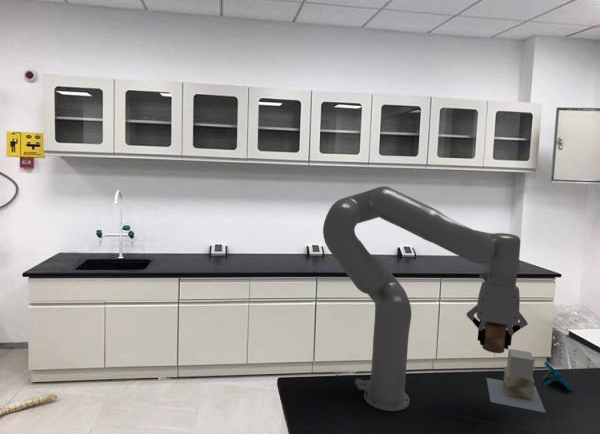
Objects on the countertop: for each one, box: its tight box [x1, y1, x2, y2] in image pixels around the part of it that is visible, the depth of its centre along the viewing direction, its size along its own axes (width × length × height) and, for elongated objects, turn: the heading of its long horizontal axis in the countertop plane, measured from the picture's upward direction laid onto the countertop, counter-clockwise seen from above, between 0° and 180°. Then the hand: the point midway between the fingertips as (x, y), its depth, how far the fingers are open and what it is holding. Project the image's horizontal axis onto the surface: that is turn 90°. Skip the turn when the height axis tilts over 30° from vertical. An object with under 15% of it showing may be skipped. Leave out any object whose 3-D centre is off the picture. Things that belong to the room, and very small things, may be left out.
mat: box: [486, 377, 547, 413], centre depth 132 cm, size 14×16×1 cm
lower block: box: [502, 366, 535, 401], centre depth 132 cm, size 7×7×6 cm
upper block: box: [506, 348, 535, 380], centre depth 131 cm, size 6×6×6 cm
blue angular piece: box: [541, 361, 573, 392], centre depth 139 cm, size 11×6×10 cm
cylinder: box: [481, 322, 507, 354], centre depth 120 cm, size 6×6×7 cm
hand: (493, 344), depth 120 cm, fingers closed on cylinder, 5 cm apart
